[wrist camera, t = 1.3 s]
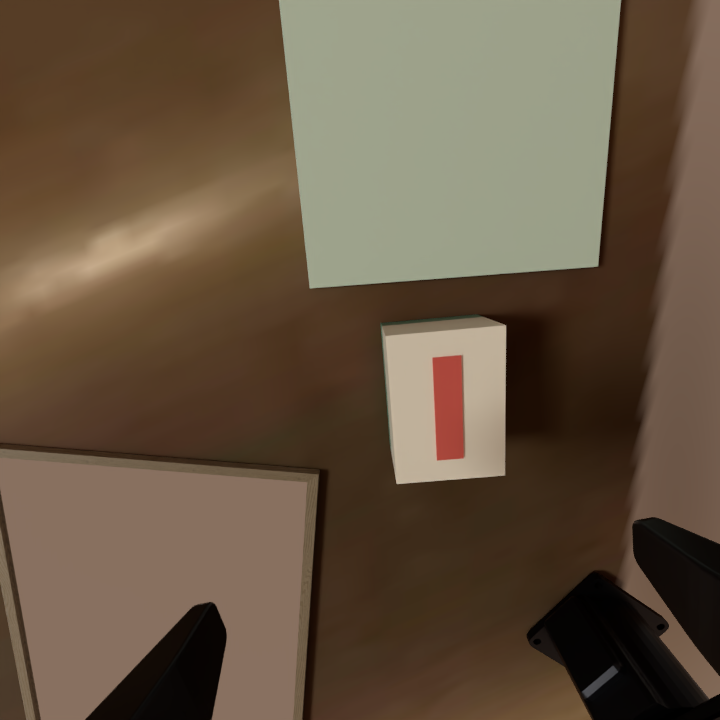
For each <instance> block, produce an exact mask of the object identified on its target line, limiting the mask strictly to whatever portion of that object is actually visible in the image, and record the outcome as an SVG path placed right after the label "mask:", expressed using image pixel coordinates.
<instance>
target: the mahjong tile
mask: <svg viewBox="0 0 720 720" xmlns="http://www.w3.org/2000/svg"><path fill="white" fill-rule="evenodd" d="M381 334H382V347H383V360H384V373H385V386H386V398H387V411H388V424H389V437H390V447H391V453H392V459H393V465H394V471H395V477H396V483H397V484H403V483H416V482H428V481H441V480H454V479H466V478H479V477H491V476H504V475H505V403H506V325H504V324H502V323H499V322H496V321H493V320H491V319H488V318H485V317H483V316H480V315H477V314H476V315H465V316H454V317H443V318H432V319H421V320H410V321H399V322H388V323H381Z"/></svg>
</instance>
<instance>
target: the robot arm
mask: <svg viewBox="0 0 720 720" xmlns="http://www.w3.org/2000/svg"><path fill="white" fill-rule="evenodd" d="M632 530H633V552H634V557H635V559H636V561H637V563H638V565H639V567H640V568H641V569H642V571H643V572H644V574H645V575H646V577H647V578H648V579H649V581H650V582H651V584H652V585H653V587H654V588H655V589H656V591H657V592H658V594H659V595H660V597H661V598H662V599H663V601H664V602H665V604H666V605H667V607H668V608H669V609H670V611H671V612H672V614H673V615H674V617H675V618H676V619H677V621H678V622H679V624H680V625H681V626H682V628H683V629H684V631H685V632H686V634H687V635H688V636H689V638H690V639H691V640H692V642H693V643H694V645H695V646H696V647H697V649H698V650H699V651H700V652H701V654H702V655H703V656H704V657H705V659H706V660H707V661H708V662H709V664H710V665H711V666H712V667H713V669H714V670H715V671H716V672H717V673H718V675H719V676H720V544H718V543H716V542H714V541H711V540H709V539H707V538H704V537H701V536H699V535H697V534H695V533H692V532H690V531H688V530H685V529H683V528H680V527H678V526H676V525H673V524H671V523H669V522H666V521H664V520H662V519H659V518H655V517H651V518H646V519H641V520H636V521H634V523H633V526H632ZM668 627H669V624H668V623H667V621H666V620H665V619H664V618H663V617H662V616H661V615H659V614H658V613H657V612H655V611H654V610H652V609H651V608H649V607H648V606H646V605H645V604H643V603H642V602H640V601H639V600H637V599H636V598H634V597H633V596H631V595H630V594H628V593H627V592H625V591H624V590H622V589H621V588H619V587H618V586H616V585H615V584H614V583H612V582H611V581H609V580H608V579H606V578H605V577H603V576H602V575H600V574H598V573H594V574H591V575H589V576H588V577H587V578H586V579H585V580H584V581H583V582H582V583H581V584H580V585H578V586H577V587H576V588H575V589H574V590H573V591H572V592H571V593H570V594H569V595H568V596H567V597H566V598H565V599H563V600H562V601H561V602H560V603H559V604H558V605H557V606H556V607H555V608H554V609H553V610H552V611H551V612H550V613H548V614H547V615H546V616H545V617H544V618H543V619H542V620H541V621H540V622H539V623H538V624H537V625H536V626H534V627H533V628H532V629H531V630H530V631H529V632H528V633H527V639H528V641H529V644H530V645H531V646H532V647H533V648H535V649H537V650H538V651H540V652H542V653H543V654H545V655H546V656H548V657H550V658H551V659H553V660H555V661H556V662H558V663H560V664H561V665H563V666H564V667H565V668H566V670H567V672H568V674H569V676H570V678H571V680H572V682H573V684H574V686H575V687H576V689H577V691H578V693H579V695H580V697H581V699H582V701H583V703H584V705H585V707H586V709H587V711H588V713H589V715H590V717H591V719H592V720H720V694H719V695H717V696H715V697H713V698H711V699H709V698H708V697H707V696H706V694H705V693H704V692H703V691H702V690H701V688H700V687H699V686H698V685H697V683H696V682H695V681H694V680H693V679H692V677H691V676H690V675H689V674H688V672H687V671H686V670H685V669H684V667H683V666H682V665H681V664H680V663H679V661H678V660H677V659H676V658H675V656H674V655H673V654H672V653H671V652H670V650H669V649H668V648H667V646H666V645H665V644H664V643H663V642H662V640H661V639H660V638H659V636H660V635H662V634H663V633H664V632H665V631H666V630H667V629H668ZM226 641H227V632H226V628H225V625H224V623H223V621H222V618H221V616H220V613H219V611H218V609H217V606H216V605H215V604H214V603H213V602H207V603H201V604H197V605H194V606H193V607H192V608H191V609H190V610H189V611H188V612H187V613H186V614H185V615H184V616H183V617H182V618H181V619H180V620H179V621H178V622H177V623H176V624H175V625H174V626H173V627H172V629H171V630H170V631H169V632H168V633H167V634H166V635H165V636H164V637H163V638H162V639H161V640H160V641H159V642H158V643H157V644H156V645H155V646H154V647H153V649H152V650H151V651H150V652H149V653H148V654H147V655H146V656H145V657H144V658H143V659H142V660H141V661H140V662H139V663H138V664H137V665H136V666H135V667H134V668H133V670H132V671H131V672H130V673H129V674H128V675H127V676H126V677H125V678H124V679H123V680H122V681H121V682H120V683H119V684H118V685H117V686H116V687H115V688H114V690H113V691H112V692H111V693H110V694H109V695H108V696H107V697H106V698H105V699H104V700H103V701H102V702H101V703H100V704H99V705H98V706H97V707H96V708H95V709H94V711H93V712H92V713H91V714H90V715H89V716H88V717H87V718H86V719H85V720H212V716H213V711H214V706H215V700H216V695H217V690H218V684H219V679H220V674H221V669H222V663H223V658H224V653H225V647H226Z"/></svg>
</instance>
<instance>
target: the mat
mask: <svg viewBox="0 0 720 720" xmlns="http://www.w3.org/2000/svg"><path fill="white" fill-rule="evenodd" d="M279 4H280V13H281V23H282V32H283V41H284V51H285V60H286V70H287V79H288V88H289V98H290V107H291V116H292V126H293V135H294V145H295V154H296V163H297V173H298V182H299V191H300V201H301V210H302V219H303V229H304V238H305V248H306V257H307V266H308V276H309V285H310V288H322V287H335V286H348V285H361V284H374V283H387V282H401V281H414V280H427V279H440V278H453V277H467V276H480V275H493V274H506V273H519V272H533V271H546V270H559V269H572V268H585V267H598V261H599V250H600V238H601V226H602V215H603V203H604V192H605V180H606V168H607V157H608V145H609V134H610V122H611V110H612V99H613V87H614V76H615V64H616V53H617V41H618V29H619V18H620V6H621V0H279Z"/></svg>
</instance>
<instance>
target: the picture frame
mask: <svg viewBox="0 0 720 720" xmlns="http://www.w3.org/2000/svg"><path fill="white" fill-rule="evenodd" d="M319 471H320V469H309V468H296V467H284V466H272V465H259V464H247V463H235V462H222V461H210V460H197V459H185V458H173V457H160V456H148V455H136V454H123V453H111V452H99V451H86V450H74V449H62V448H49V447H37V446H24V445H12V444H0V583H1V589H2V594H3V599H4V604H5V610H6V615H7V620H8V625H9V631H10V636H11V641H12V646H13V652H14V657H15V662H16V667H17V673H18V678H19V683H20V688H21V693H22V699H23V704H24V709H25V714H26V720H85V719H86V718H87V717H88V716H89V715H90V714H91V713H92V712H93V711H94V709H95V708H96V707H97V706H98V705H99V704H100V703H101V702H102V701H103V700H104V699H105V698H106V697H107V696H108V695H109V694H110V693H111V692H112V691H113V690H114V688H115V687H116V686H117V685H118V684H119V683H120V682H121V681H122V680H123V679H124V678H125V677H126V676H127V675H128V674H129V673H130V672H131V671H132V670H133V668H134V667H135V666H136V665H137V664H138V663H139V662H140V661H141V660H142V659H143V658H144V657H145V656H146V655H147V654H148V653H149V652H150V651H151V650H152V649H153V647H154V646H155V645H156V644H157V643H158V642H159V641H160V640H161V639H162V638H163V637H164V636H165V635H166V634H167V633H168V632H169V631H170V630H171V629H172V627H173V626H174V625H175V624H176V623H177V622H178V621H179V620H180V619H181V618H182V617H183V616H184V615H185V614H186V613H187V612H188V611H189V610H190V609H191V608H192V607H193V606H194V605H197V604H201V603H207V602H213V603H214V604H215V605H216V606H217V609H218V611H219V613H220V616H221V618H222V621H223V623H224V625H225V628H226V632H227V641H226V647H225V653H224V658H223V663H222V669H221V674H220V679H219V684H218V690H217V695H216V700H215V706H214V711H213V716H212V720H303V708H304V693H305V678H306V664H307V649H308V634H309V619H310V604H311V590H312V575H313V560H314V545H315V530H316V516H317V501H318V486H319Z"/></svg>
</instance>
